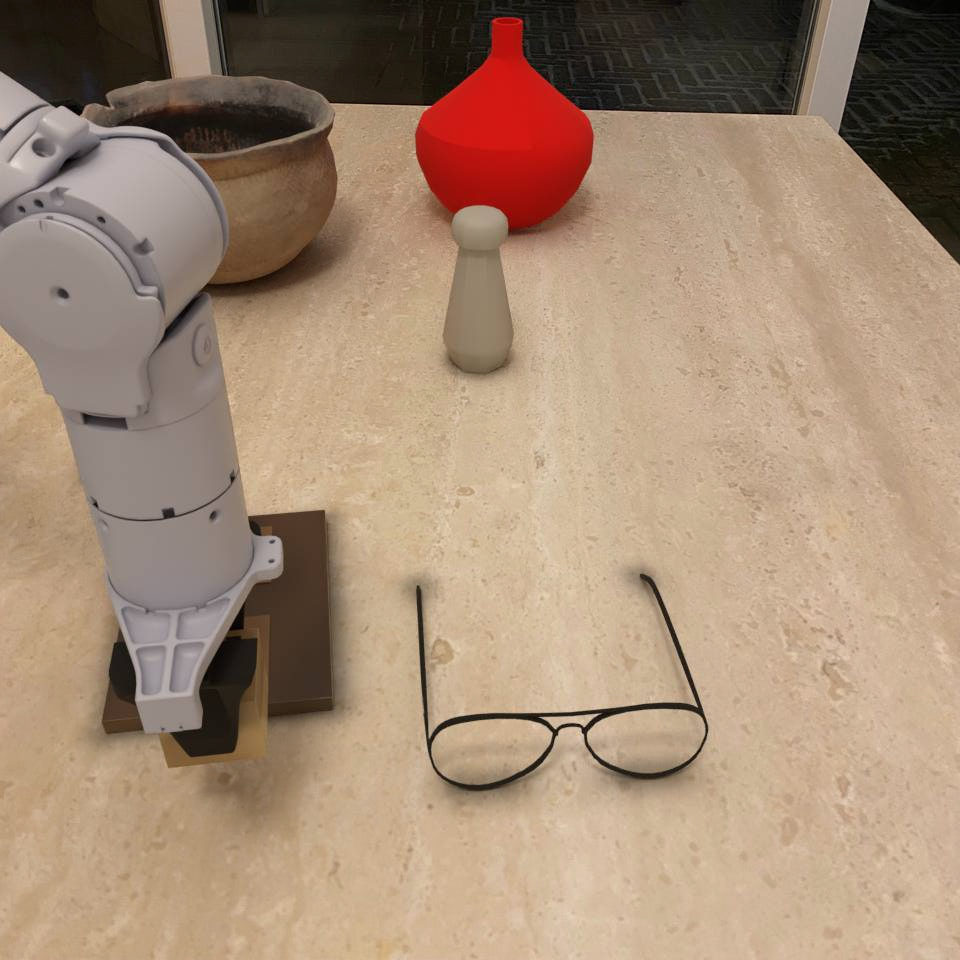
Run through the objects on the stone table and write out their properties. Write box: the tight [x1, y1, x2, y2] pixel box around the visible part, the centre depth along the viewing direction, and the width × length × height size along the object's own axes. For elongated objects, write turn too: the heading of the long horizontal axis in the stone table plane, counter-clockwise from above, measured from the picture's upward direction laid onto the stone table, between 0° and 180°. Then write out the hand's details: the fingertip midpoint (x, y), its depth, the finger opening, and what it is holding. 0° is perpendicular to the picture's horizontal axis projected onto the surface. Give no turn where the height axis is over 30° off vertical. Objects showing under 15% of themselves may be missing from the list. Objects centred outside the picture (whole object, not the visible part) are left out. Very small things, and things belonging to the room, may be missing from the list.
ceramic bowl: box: [79, 73, 339, 285], centre depth 92 cm, size 22×22×15 cm
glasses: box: [415, 573, 709, 791], centre depth 56 cm, size 14×15×5 cm
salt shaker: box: [442, 205, 515, 375], centre depth 79 cm, size 6×6×13 cm
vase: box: [414, 16, 595, 231], centre depth 101 cm, size 18×18×19 cm
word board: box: [101, 509, 334, 734], centre depth 59 cm, size 12×16×1 cm
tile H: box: [157, 628, 268, 769], centre depth 46 cm, size 4×4×4 cm
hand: (215, 705), depth 46 cm, fingers closed on tile H, 4 cm apart
